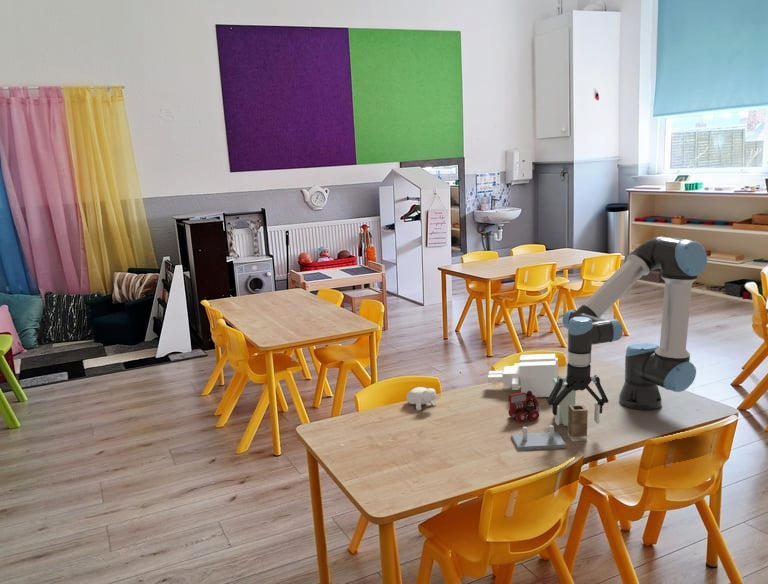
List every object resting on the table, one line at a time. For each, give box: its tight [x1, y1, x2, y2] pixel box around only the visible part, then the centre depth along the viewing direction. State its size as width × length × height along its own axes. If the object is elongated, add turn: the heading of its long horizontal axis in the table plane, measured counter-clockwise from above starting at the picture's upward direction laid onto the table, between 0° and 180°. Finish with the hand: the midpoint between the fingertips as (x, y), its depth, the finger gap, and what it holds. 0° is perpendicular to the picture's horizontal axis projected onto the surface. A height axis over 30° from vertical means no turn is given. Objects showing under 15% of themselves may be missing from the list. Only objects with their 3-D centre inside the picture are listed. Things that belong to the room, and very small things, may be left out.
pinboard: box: [510, 425, 567, 451], centre depth 219 cm, size 16×10×6 cm, turn 92°
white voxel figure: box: [487, 353, 560, 398], centre depth 265 cm, size 15×25×28 cm
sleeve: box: [567, 404, 589, 442], centre depth 221 cm, size 5×5×11 cm
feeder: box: [553, 378, 577, 427], centre depth 233 cm, size 7×12×15 cm, turn 2°
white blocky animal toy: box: [405, 386, 437, 411], centre depth 254 cm, size 9×8×15 cm
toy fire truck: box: [507, 391, 540, 424], centre depth 238 cm, size 7×12×10 cm, turn 109°
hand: (576, 422), depth 221 cm, fingers open, 13 cm apart
